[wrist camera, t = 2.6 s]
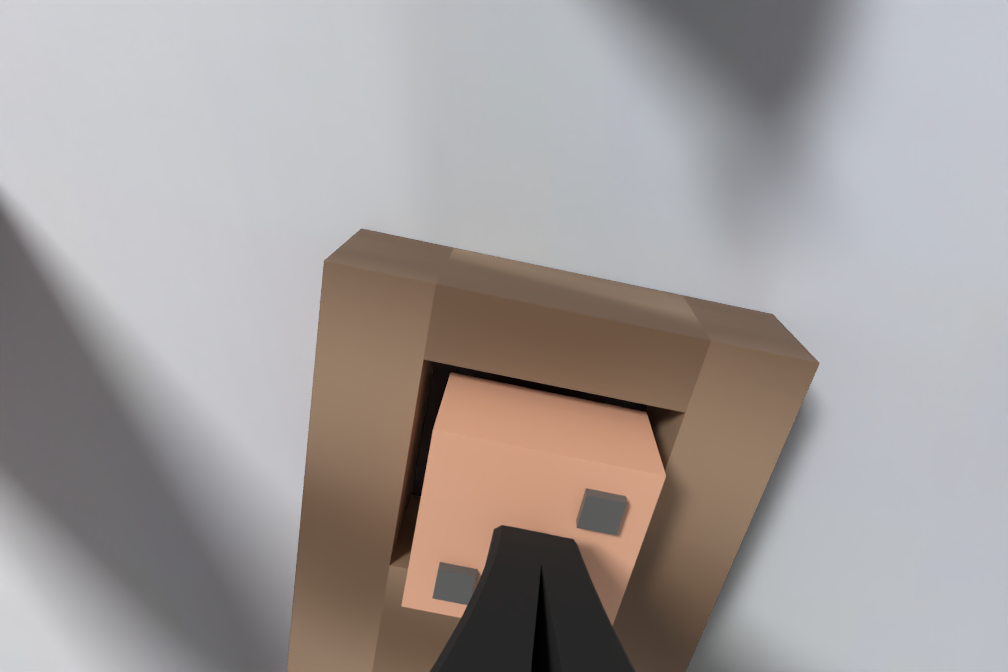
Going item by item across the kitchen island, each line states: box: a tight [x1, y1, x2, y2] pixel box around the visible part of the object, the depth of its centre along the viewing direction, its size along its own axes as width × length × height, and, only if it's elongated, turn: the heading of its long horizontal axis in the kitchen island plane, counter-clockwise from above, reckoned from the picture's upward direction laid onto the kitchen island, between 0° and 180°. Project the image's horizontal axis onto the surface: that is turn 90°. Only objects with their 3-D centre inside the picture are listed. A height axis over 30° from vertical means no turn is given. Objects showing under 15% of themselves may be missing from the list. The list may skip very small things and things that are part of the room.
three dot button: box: [401, 372, 666, 626], centre depth 12 cm, size 4×4×2 cm
